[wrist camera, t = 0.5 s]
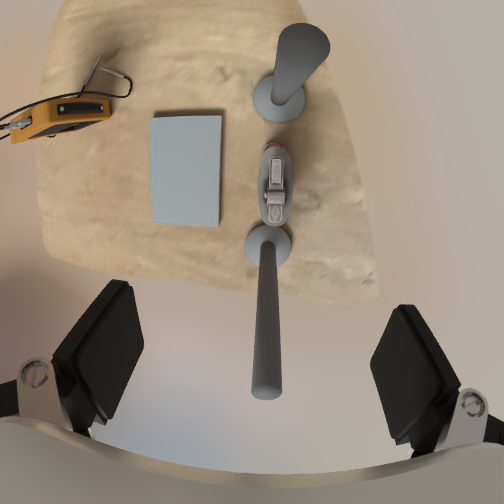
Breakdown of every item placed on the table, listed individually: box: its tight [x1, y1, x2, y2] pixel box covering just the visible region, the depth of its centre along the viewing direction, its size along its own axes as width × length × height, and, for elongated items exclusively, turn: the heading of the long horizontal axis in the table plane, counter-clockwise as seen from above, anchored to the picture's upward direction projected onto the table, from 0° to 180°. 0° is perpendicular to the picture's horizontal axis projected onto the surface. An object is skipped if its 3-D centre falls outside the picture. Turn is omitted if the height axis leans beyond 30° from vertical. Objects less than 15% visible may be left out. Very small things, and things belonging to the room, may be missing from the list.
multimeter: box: [0, 57, 132, 144], centre depth 19 cm, size 15×10×20 cm
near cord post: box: [253, 23, 330, 123], centre depth 18 cm, size 6×6×23 cm
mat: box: [150, 116, 223, 227], centre depth 33 cm, size 14×9×1 cm, turn 177°
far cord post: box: [245, 224, 291, 400], centre depth 27 cm, size 6×6×23 cm
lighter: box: [258, 142, 293, 227], centre depth 28 cm, size 8×3×10 cm, turn 0°
